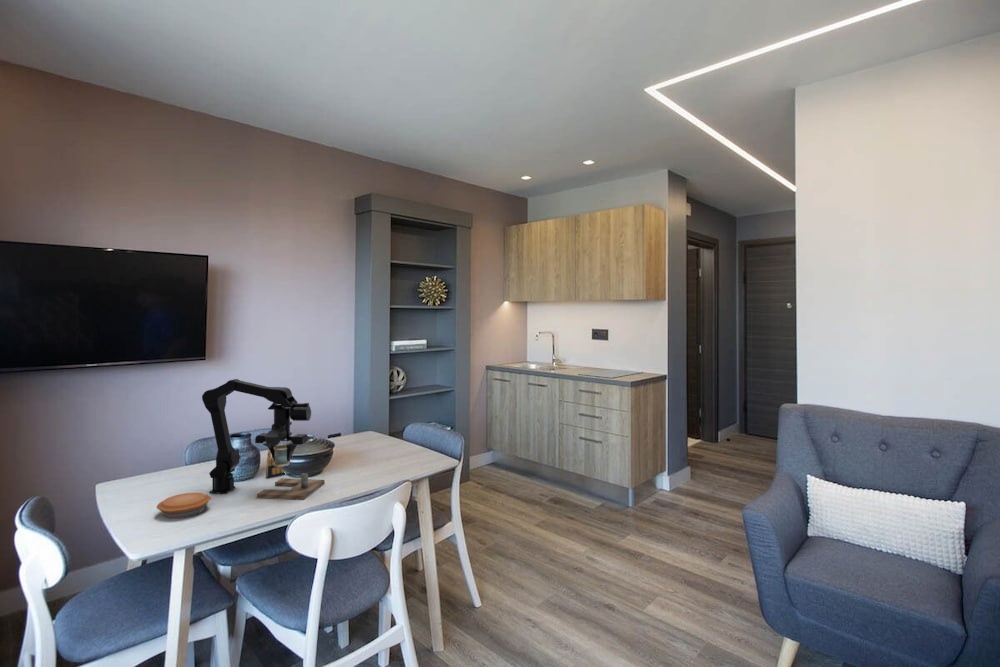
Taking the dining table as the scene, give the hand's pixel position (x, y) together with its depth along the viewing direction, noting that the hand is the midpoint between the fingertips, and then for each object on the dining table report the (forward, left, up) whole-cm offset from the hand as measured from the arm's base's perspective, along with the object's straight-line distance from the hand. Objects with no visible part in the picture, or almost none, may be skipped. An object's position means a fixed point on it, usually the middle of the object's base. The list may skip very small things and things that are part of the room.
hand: (281, 460), depth 189 cm
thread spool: (0, 0, -2) cm, 2 cm away
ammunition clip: (-10, +17, -12) cm, 23 cm away
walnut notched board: (+4, 0, -12) cm, 12 cm away
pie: (-22, -24, -12) cm, 34 cm away
